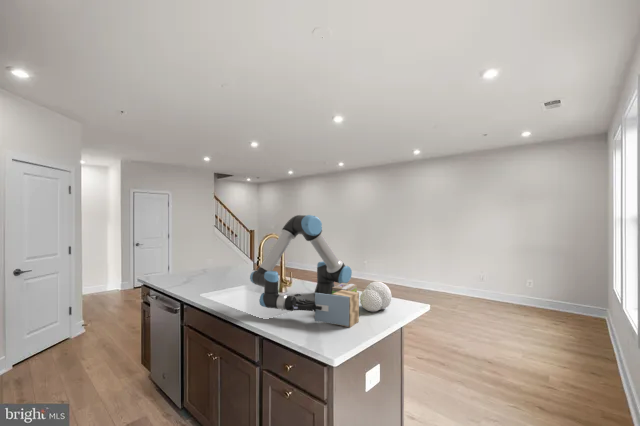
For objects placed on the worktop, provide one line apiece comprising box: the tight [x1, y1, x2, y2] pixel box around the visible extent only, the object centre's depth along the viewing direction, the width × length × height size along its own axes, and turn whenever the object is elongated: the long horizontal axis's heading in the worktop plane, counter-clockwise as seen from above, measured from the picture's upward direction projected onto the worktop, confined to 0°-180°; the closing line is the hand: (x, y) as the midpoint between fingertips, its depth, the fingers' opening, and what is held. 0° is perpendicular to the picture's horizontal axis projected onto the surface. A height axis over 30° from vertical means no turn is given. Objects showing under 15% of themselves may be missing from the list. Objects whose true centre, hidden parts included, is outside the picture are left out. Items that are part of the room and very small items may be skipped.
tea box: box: [332, 282, 358, 294], centre depth 172 cm, size 15×10×15 cm, turn 153°
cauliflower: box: [359, 281, 393, 313], centre depth 176 cm, size 20×18×16 cm
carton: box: [332, 290, 360, 328], centre depth 154 cm, size 10×10×15 cm
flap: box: [314, 292, 349, 327], centre depth 150 cm, size 1×18×14 cm, turn 66°
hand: (328, 308), depth 151 cm, fingers closed
